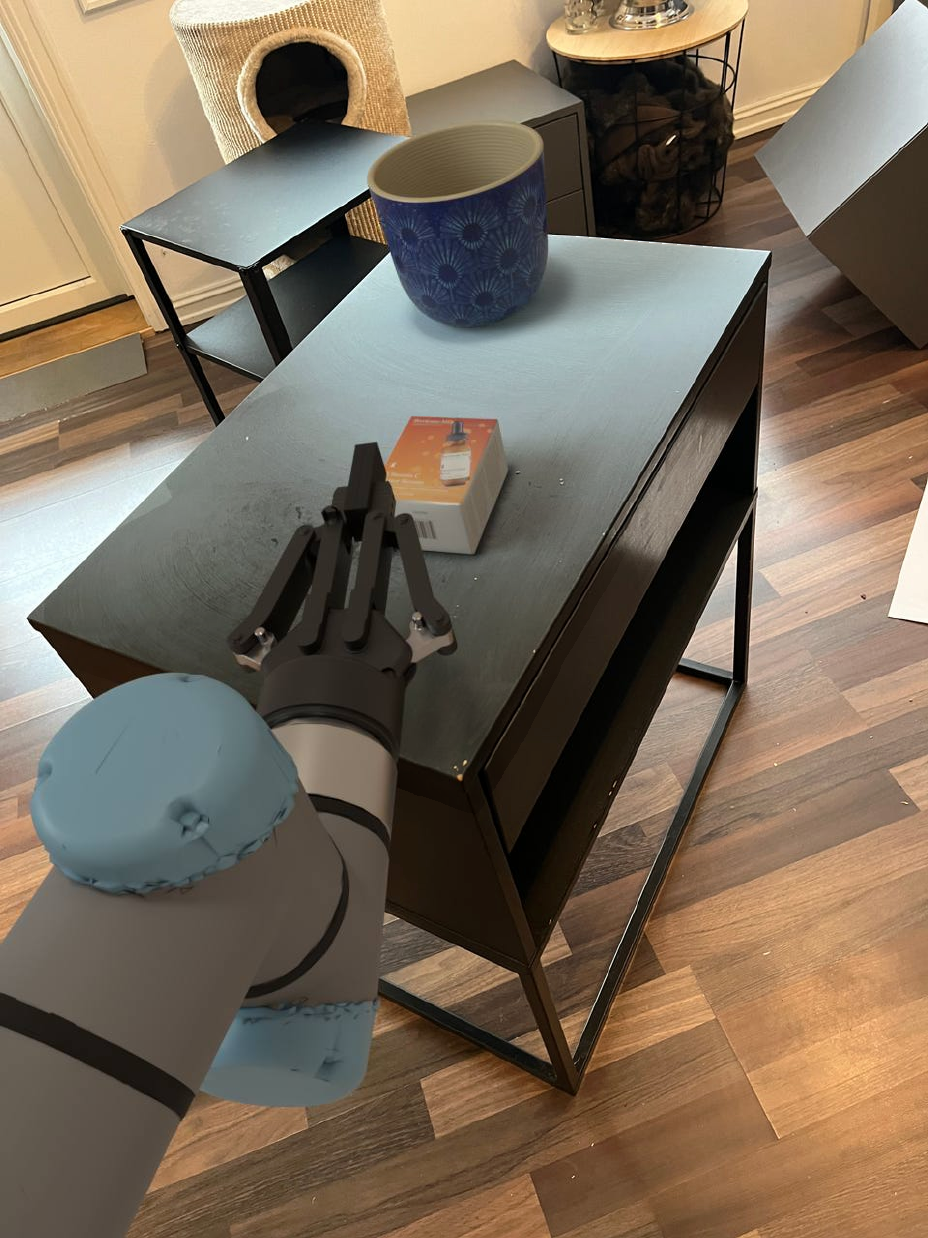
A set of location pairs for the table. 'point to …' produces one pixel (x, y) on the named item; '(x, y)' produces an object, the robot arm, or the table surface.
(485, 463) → the small box
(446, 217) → the planter
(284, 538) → the table surface
